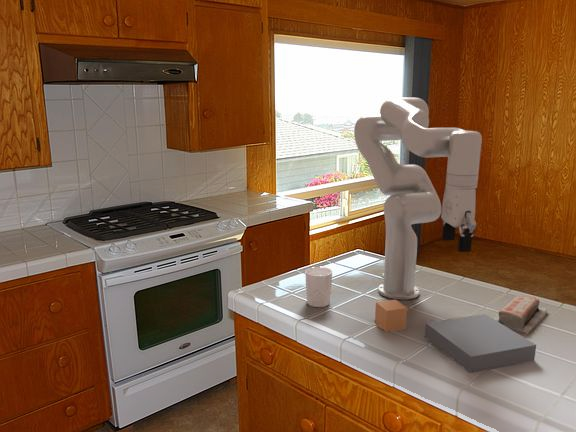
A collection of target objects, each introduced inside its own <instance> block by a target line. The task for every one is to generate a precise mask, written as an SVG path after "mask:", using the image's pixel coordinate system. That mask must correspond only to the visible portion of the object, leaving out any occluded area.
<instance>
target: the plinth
mask: <svg viewBox="0 0 576 432" xmlns="http://www.w3.org/2000/svg"><path fill="white" fill-rule="evenodd" d="M424 329H425V330H424V338H425V339H426V340H428V342H430V343H432V345H434V346H435V347H436V348H438V349H439V350H440V351H441V352H442V353H444V354H446V356H448V357H449V358H450V359H451V360H452V361H454V362H455V363H456V364H458V365H459V366H460V367H461V368H463V370H465V371H466V372H468V373H469V374H471V373H476V372H481V371H482V372H483V371H487V370H491V369H497V368H502V367H507V366H513V365H519V364H523V363H529V362H533V361H535V359H536V351H537V344H536V343H534V342H532V341H530V340H529V339H528V338H525V337H524V336H523V335H521V334H519V333H517V331H515V330H512V329H509V328H507V327H506V326H504V325H502V324H501V323H499V322H497V321H496V320H494V318H493V317H491V316H490V315H487V314H485V313H482V314H475V315H470V316H464V317H463V316H462V317H455V318H450V319H443V320H436V321H431V322H425V328H424Z"/></svg>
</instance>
